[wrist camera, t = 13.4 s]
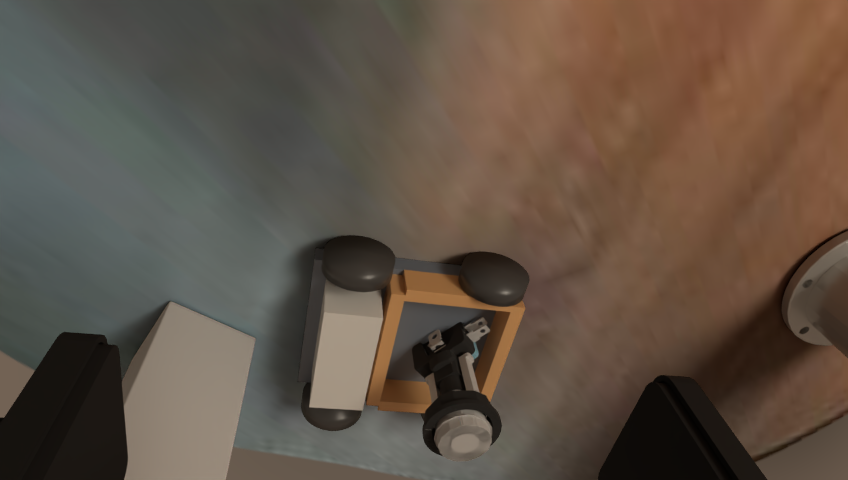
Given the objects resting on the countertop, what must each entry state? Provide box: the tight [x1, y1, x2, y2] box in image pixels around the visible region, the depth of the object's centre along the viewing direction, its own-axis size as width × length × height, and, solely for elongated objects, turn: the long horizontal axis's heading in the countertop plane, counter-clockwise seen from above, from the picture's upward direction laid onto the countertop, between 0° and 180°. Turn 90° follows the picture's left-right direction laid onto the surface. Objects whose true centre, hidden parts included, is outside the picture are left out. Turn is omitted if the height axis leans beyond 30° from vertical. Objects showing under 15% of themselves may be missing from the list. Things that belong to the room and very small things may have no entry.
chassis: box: [298, 235, 529, 431], centre depth 43 cm, size 16×15×6 cm
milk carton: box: [122, 301, 256, 480], centre depth 36 cm, size 7×7×19 cm
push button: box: [412, 317, 502, 461], centre depth 41 cm, size 7×5×10 cm
